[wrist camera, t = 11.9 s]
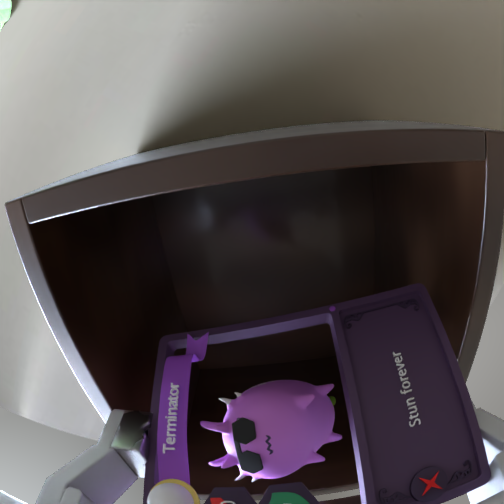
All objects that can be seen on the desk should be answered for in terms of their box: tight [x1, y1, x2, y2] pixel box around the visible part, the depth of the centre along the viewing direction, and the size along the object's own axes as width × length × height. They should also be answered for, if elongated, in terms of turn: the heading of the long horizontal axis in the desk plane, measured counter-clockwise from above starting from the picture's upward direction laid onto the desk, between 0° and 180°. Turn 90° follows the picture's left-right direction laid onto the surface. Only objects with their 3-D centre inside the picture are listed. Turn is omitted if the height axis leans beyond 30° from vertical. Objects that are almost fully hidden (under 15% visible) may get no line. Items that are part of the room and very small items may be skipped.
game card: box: [143, 283, 491, 504], centre depth 9 cm, size 7×5×9 cm
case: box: [5, 120, 504, 500], centre depth 14 cm, size 16×14×11 cm
